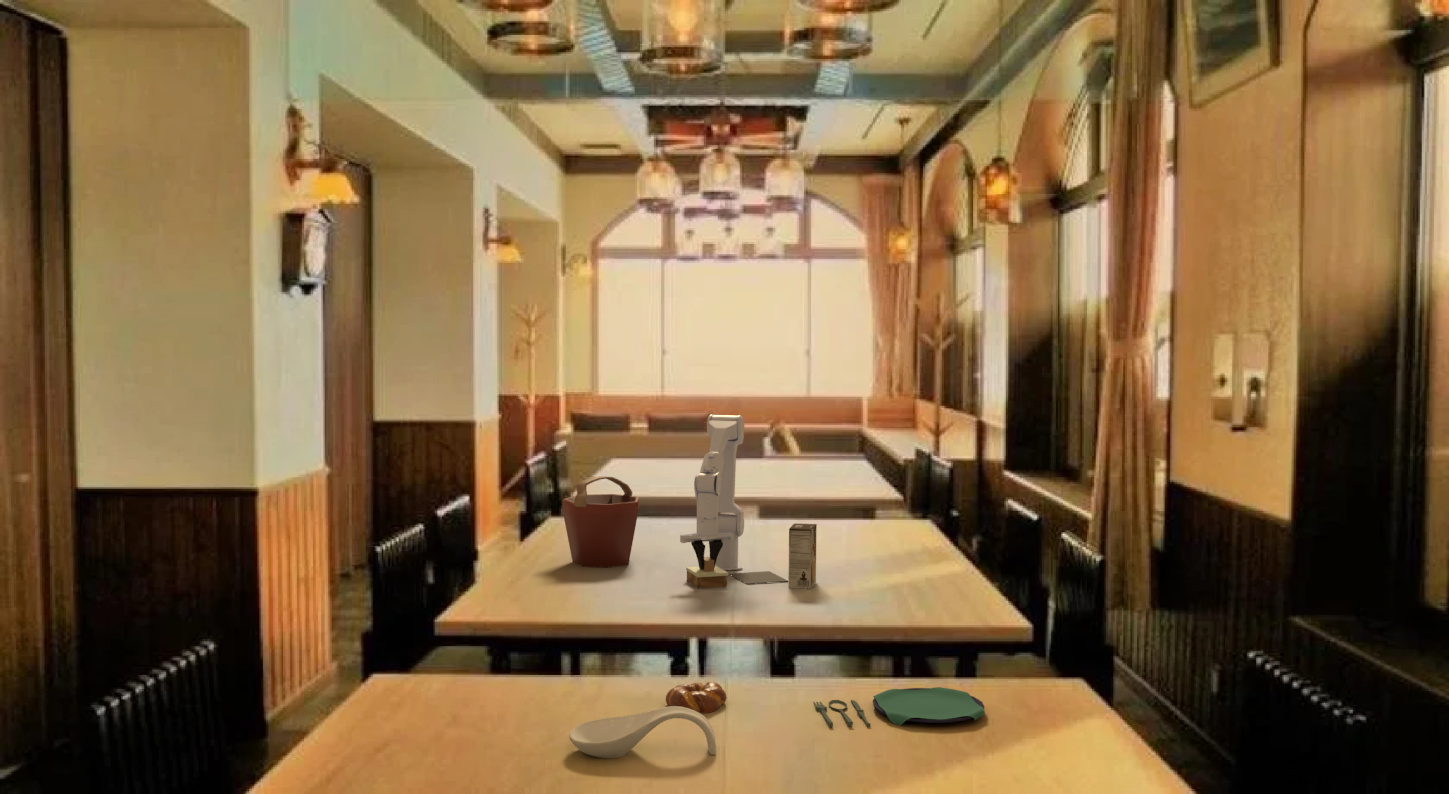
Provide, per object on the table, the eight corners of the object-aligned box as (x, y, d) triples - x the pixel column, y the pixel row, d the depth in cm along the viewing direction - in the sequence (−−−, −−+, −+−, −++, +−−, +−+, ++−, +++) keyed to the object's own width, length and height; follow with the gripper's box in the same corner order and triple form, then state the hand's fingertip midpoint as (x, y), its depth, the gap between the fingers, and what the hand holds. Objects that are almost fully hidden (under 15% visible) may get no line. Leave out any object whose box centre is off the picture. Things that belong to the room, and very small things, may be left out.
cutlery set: (999, 729, 211) (999, 716, 210) (827, 735, 208) (827, 722, 208) (966, 696, 230) (966, 684, 230) (808, 701, 228) (808, 689, 227)
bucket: (587, 573, 341) (587, 483, 339) (544, 561, 357) (544, 476, 356) (656, 562, 357) (657, 477, 355) (612, 552, 373) (612, 470, 372)
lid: (686, 570, 331) (686, 556, 331) (715, 568, 334) (715, 554, 334) (697, 577, 321) (698, 563, 321) (728, 575, 324) (728, 561, 324)
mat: (729, 574, 340) (729, 573, 340) (769, 572, 344) (769, 571, 344) (746, 584, 327) (746, 583, 327) (788, 582, 331) (788, 581, 331)
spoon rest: (566, 766, 191) (566, 721, 190) (571, 741, 202) (571, 698, 202) (717, 765, 192) (718, 720, 192) (714, 739, 204) (714, 697, 203)
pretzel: (695, 692, 230) (695, 673, 230) (740, 704, 223) (740, 684, 223) (652, 707, 221) (652, 687, 221) (698, 720, 214) (698, 699, 214)
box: (686, 581, 331) (686, 570, 331) (714, 579, 334) (714, 568, 334) (698, 588, 322) (698, 577, 322) (726, 586, 324) (726, 575, 324)
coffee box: (792, 581, 332) (793, 522, 331) (816, 582, 331) (817, 523, 330) (787, 588, 323) (788, 528, 322) (811, 589, 322) (812, 529, 321)
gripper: (685, 521, 321) (685, 572, 321) (737, 519, 325) (737, 569, 326) (678, 517, 327) (677, 567, 328) (729, 515, 332) (728, 564, 333)
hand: (706, 568), depth 327 cm, fingers closed on lid, 2 cm apart
